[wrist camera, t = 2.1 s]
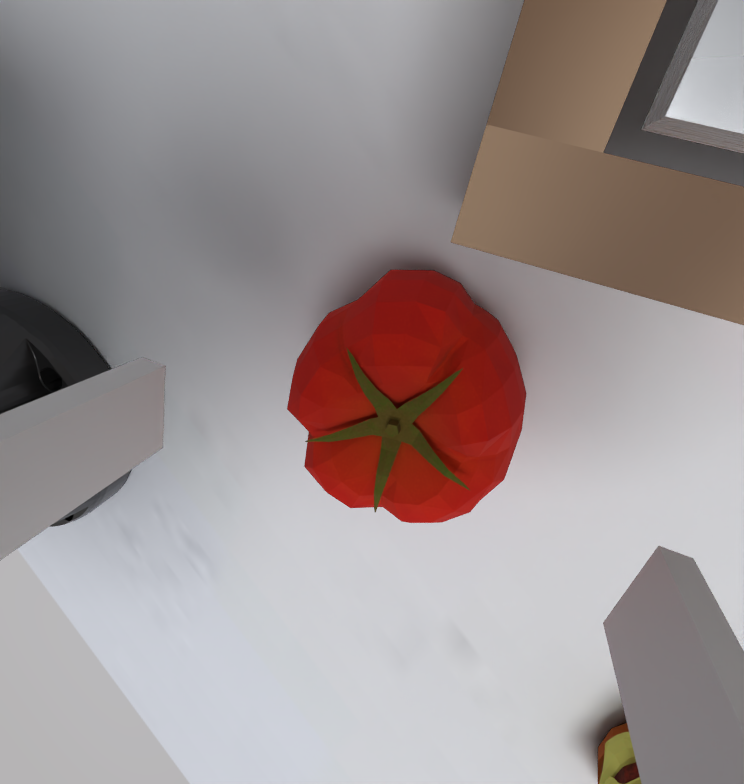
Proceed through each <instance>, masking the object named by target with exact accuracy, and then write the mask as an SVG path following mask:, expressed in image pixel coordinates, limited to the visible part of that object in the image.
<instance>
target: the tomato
mask: <svg viewBox="0 0 744 784" xmlns="http://www.w3.org/2000/svg"><path fill="white" fill-rule="evenodd" d="M525 399H526V390H525V386H524V382H523V378H522V374H521V370H520V366H519V362H518V358H517V355H516V353H515V351H514V349H513V346H512V345H511V343H510V341H509V339H508V337H507V335H506V333H505V332H504V330H503V328H502V326H501V324H500V322H499V321H498V320H497V319H496V318H495V317H493V316H492V315H491V314H489V313H488V312H487V311H486V310H484V309H483V308H481V307H479V306H478V305H476V304H474V302H473V301H472V300H471V298H470V297H469V295H468V294H467V292H466V291H465V289H464V288H463V286H462V285H461V283H459V282H457V281H455V280H453V279H451V278H449V277H447V276H445V275H443V274H440V273H438V272H436V271H434V270H390V271H389V272H388V273H387V274H385V275H384V276H383V277H382V278H381V279H380V280H379V281H378V282H377V283H376V284H375V285H373V286H372V287H371V288H370V289H369V290H368V291H367V292H366V293H365V294H364V295H363V296H361V297H360V298H359V299H358V300H356V301H354V302H352V303H349V304H347V305H345V306H343V307H341V308H339V309H336V310H334V311H332V312H330V313H329V314H328V315H327V316H326V317H325V318H324V319H323V321H322V322H321V323H320V324H319V326H318V327H317V329H316V331H315V332H314V334H313V335H312V337H311V338H310V340H309V342H308V343H307V345H306V346H305V348H304V350H303V351H302V353H301V354H300V356H299V357H298V359H297V363H296V366H295V370H294V374H293V379H292V384H291V390H290V396H289V401H288V407H287V409H288V410H289V411H290V412H291V413H292V414H293V415H294V417H295V418H296V419H297V420H298V421H299V422H300V423H301V424H302V425H303V426H304V427H305V428H306V429H307V430H308V431H309V435H308V441H305V442H308V443H307V451H306V458H305V466H304V467H305V468H306V469H307V470H308V471H309V472H310V474H311V475H312V476H313V477H314V478H315V479H316V481H317V482H318V483H319V484H320V485H321V486H322V488H323V489H324V490H325V491H326V492H327V493H328V494H330V495H332V496H333V497H335V498H336V499H338V500H339V501H341V502H342V503H344V504H345V505H347V506H348V507H350V508H363V507H374V510H375V512H376V509H377V507H384V508H385V509H386V510H388V511H389V512H390V513H391V514H393V515H394V516H395V517H397V518H398V519H399V520H401V521H403V522H409V523H436V522H444V521H447V520H449V519H452V518H455V517H458V516H461V515H463V514H466V513H469V512H471V510H472V509H473V508H474V507H475V506H476V504H477V503H478V502H479V501H480V500H481V499H482V498H483V497H484V496H485V495H487V494H488V493H489V492H490V491H491V490H492V489H494V488H495V487H496V486H497V485H498V484H499V483H500V482H502V481H503V480H504V478H505V476H506V473H507V470H508V467H509V464H510V461H511V459H512V456H513V453H514V450H515V447H516V444H517V442H518V439H519V436H520V433H521V430H522V423H523V415H524V407H525Z"/></svg>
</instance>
